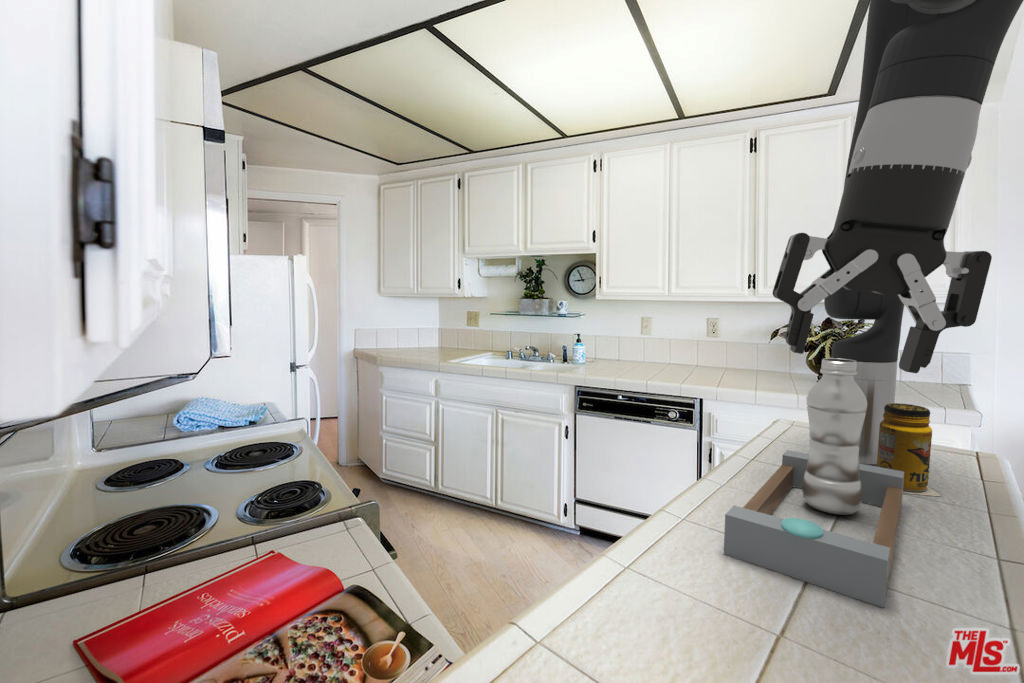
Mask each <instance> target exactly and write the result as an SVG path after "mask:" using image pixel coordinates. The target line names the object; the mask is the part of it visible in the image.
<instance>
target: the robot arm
mask: <svg viewBox="0 0 1024 683" xmlns="http://www.w3.org/2000/svg"><path fill="white" fill-rule="evenodd" d="M1023 3H1024V0H870V1H869V6H868V14H867V21H866V22H867V23H866V32H865V34H866V35H865V40H864V41H865V42H864V43H865V44H864V51H863V52H864V54H863V62H862V71H861V72H862V73H861V74H862V75H861V82H860V83H861V84H860V91H859V92H860V93H859V99H858V100H859V101H858V106H857V112H856V118H855V121H854V122H855V123H854V127H853V133H852V138H851V143H850V149H849V152H848V153H849V154H848V160H847V166H846V172H845V177H844V178H845V179H844V185H843V192H842V195H841V199H840V203H839V206H838V209H837V210H838V211H837V215H836V219H835V222H834V226H833V229H832V231H831V233H830V234H829V235H828V236H827V237H826V238H824V237H819V236H812V235H809V234H808V233H806V232H797V233H795V234H793V235H791V236H790V237H789V238H788V241H787V243H786V244H787V245H786V248H785V251H784V253H783V257H782V260H781V263H780V266H779V270H778V273H777V277H776V279H775V283H774V286H773V289H772V296H773V297H774V298H775V299H777V300H779V301H782V302H783V303H785V304H787V305H789V307H790V309H791V312H790V316H789V320H788V325H787V329H786V332H785V336H784V339H785V343H786V344H787V345H788V346H790V347H789V348H790V351H791V352H792V353H795V354H799V355H803V354H804V352H805V349H806V344H807V341H808V337H809V334H810V330H811V327H812V324H813V323H812V322H813V319H814V318H813V317H814V313H812V309H813V308H815V306H817V305H819V303H820V302H822V301H824V303H823V304H824V309H825V310H824V311H825V312H826V314H827V315H828V316H829V317H830V318H833V319H837V320H862V321H863V320H865V321H866V320H869V321H871V320H874V321H873V324H872V325H871V327H870V328H869V329H867V330H865V331H863V332H861V333H859V334H856V335H854V336H850V337H847V338H842V339H838V340H836V341H834V342H833V343H832V347H831V354H830V356H831V357H830V358H837V359H850V360H855V361H857V366H856V371H857V375H856V376H854V381H855V382H856V384H857V385H858V386H859V387H860V389H861V390H862V392H863V393H864V395H865V397H866V400H867V410H866V415H865V419H864V423H863V427H862V431H861V440H860V444H859V447H860V448H859V463H860V464H865V465H877V455H878V442H879V427H880V423H881V422H882V421H883V420H884V417H883V414H884V407H885V405H887V404H890V403H895V400H896V389H897V388H896V385H897V374H898V373H897V370H898V368H899V369H900V370H902V371H904V372H905V373H912V374H917V373H919V372H920V369H921V368H923V369H927V367H928V365H930V364H931V361H932V358H933V355H934V351H935V348H936V346H937V342H938V339H939V336H940V334H941V332H943V331H944V330H946V329H949V328H951V329H952V328H956V327H964V328H965V327H968V328H969V327H971V326H973V325H974V324H975V323H976V321H977V318H978V314H979V309H980V306H981V302H982V297H983V294H984V290H985V286H986V283H987V278H988V274H989V271H990V265H991V262H992V259H993V257H992V254H991V253H990V252H989V251H987V250H972V251H971V250H970V251H969V250H968V251H966V250H965V251H948V250H946V247H945V243H944V242H945V237H946V234H947V232H948V229H949V226H950V223H951V220H952V217H953V213H954V210H955V208H956V205H957V200H958V198H959V194H960V191H961V188H962V185H963V181H964V178H965V175H966V172H967V170H968V168H969V167H970V165H971V162H972V157H973V156H972V152H973V150H974V146H975V143H976V139H977V134H978V128H979V120H980V114H981V109H982V106H983V102H984V100H985V96H986V92H987V89H988V86H989V84H990V83H989V82H990V80H991V77H992V74H993V70H994V67H995V65H996V60H997V58H998V55H999V52H1000V49H1001V47H1002V45H1003V42H1004V40H1005V37H1006V35H1007V33H1008V31H1009V29H1010V26H1011V25H1012V23H1013V20H1014V19H1015V17H1016V15H1017V13H1018V11H1019V9H1020V7H1021V6H1022V4H1023ZM820 250H821V253H822V255H823V256H824V259H825V261H826V262H827V264H828V266H829V269H827V270H825V272H823V273H821V275H820V276H819V277H817V278H815V279H814V281H812V282H811V284H810V285H808V287H806V288H805V289H804V290H802V291H801V292H798V291H795V289H796V288H795V287H796V284H797V281H798V278H799V275H800V272H801V268H802V265H803V262H804V261H808V260H810V259H812V258H814V255H815V253H816V252H818V251H820ZM942 265H943V266H944V267H945V274H946V276H947V277H949V278H950V283H949V286H948V291H947V295H946V299H945V302H944V306H943V310H941V309H940V308H939V306H938V304H937V302H936V300H937V298H936V296H935V294H934V292H933V290H932V288H931V287H930V284H929V283H928V281H927V279H926V277H928V276H929V275H931V274H932V273H933V272H935V271H936V270H937V269H938V268H940V267H941V266H942ZM905 307H906V309H907V310H908V312H909V315H910V316H911V318H912V320H913V321H914V323H915V326H910V327H909V330H908V332H907V337H906V340H905V343H904V347H903V350H902V353H901V356H900V358H899V359H900V360H899V359H898V356H899V348H900V344H901V343H900V341H901V333H902V322H903V317H904V316H903V315H904V310H905ZM898 360H899V362H898Z"/></svg>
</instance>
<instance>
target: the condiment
mask: <svg viewBox="0 0 1024 683" xmlns="http://www.w3.org/2000/svg"><path fill="white" fill-rule="evenodd" d="M930 411H931V410H930V409H929V408H927V407H925V406H921V405H915V404H911V403H910V404H909V403H899V402H898V403H897V402H896V403H890V404H887V405H885V407H884V414H883V417H884V420H883V421H882V422H881V423H880V427H879V442H878V455H877V464H876V467H882V468H887V469H892V470H898V471H903V472H904V483H903V493H904V494H911V495H921V496H930V497H941V494H939V493H938V492H936V491H934V490H933V489H932V488H930V487H929V486H928V483H929V476H930V475H929V474H930V462H931V452H932V450H931V449H932V438H933V429H932V427H931V426H930V425H929V424H930V423H931V421H930V417H931V416H930V415H931V412H930Z"/></svg>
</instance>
